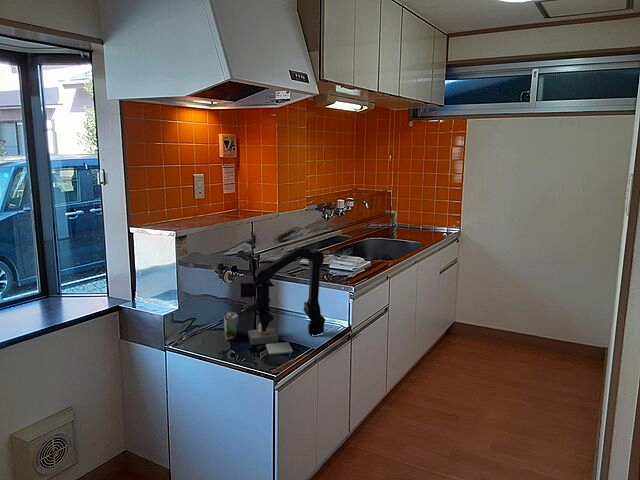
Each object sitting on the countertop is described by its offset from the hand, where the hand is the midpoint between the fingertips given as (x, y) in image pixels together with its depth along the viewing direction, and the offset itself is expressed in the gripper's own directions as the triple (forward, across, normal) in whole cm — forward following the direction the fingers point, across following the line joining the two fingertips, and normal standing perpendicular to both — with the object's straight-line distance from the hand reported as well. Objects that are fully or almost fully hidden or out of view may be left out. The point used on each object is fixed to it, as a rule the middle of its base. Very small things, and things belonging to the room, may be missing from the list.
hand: (263, 329), depth 221 cm
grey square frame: (+4, 0, 0) cm, 4 cm away
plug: (+4, 0, 0) cm, 4 cm away
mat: (+4, +12, +5) cm, 14 cm away
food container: (+5, -7, -13) cm, 16 cm away
